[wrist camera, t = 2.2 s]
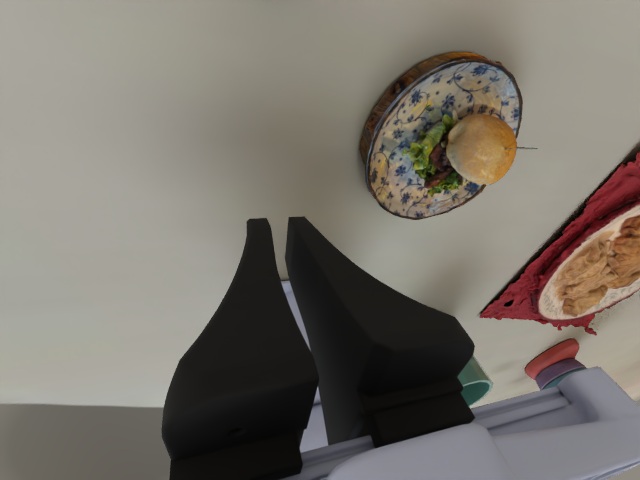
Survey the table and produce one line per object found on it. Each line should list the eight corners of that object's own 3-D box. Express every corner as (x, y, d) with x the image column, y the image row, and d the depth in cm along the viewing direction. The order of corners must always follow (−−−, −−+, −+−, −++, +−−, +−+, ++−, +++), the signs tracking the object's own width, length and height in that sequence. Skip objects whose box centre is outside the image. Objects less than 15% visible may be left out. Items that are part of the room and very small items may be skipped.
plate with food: (734, 184, 40) (771, 198, 37) (578, 321, 53) (597, 338, 50) (641, 132, 30) (682, 146, 27) (477, 316, 43) (495, 337, 40)
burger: (325, 160, 22) (364, 222, 17) (459, 1, 18) (568, 15, 13) (417, 229, 29) (467, 289, 24) (529, 126, 25) (620, 169, 20)
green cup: (434, 344, 45) (473, 408, 38) (384, 353, 43) (417, 423, 36) (455, 307, 40) (505, 374, 33) (400, 315, 38) (442, 389, 31)
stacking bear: (569, 357, 65) (661, 456, 52) (522, 379, 66) (601, 481, 53) (576, 335, 58) (685, 442, 45) (523, 359, 59) (615, 472, 45)
